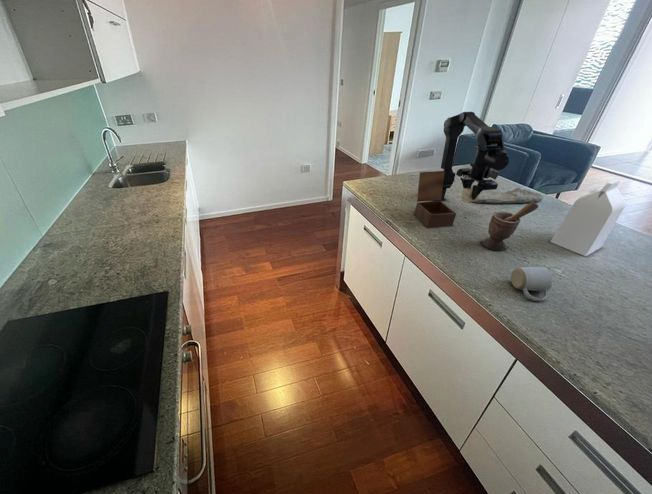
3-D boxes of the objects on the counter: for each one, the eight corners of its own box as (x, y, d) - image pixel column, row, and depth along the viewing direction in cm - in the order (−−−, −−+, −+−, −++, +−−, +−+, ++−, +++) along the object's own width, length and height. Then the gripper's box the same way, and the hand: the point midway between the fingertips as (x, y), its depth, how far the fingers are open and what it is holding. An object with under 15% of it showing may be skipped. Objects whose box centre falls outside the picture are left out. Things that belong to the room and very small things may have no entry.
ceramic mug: (505, 279, 99) (515, 261, 95) (532, 280, 98) (542, 262, 94) (523, 302, 90) (534, 283, 86) (552, 303, 89) (565, 284, 85)
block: (470, 196, 131) (473, 187, 129) (477, 201, 128) (480, 191, 125) (460, 197, 131) (464, 187, 128) (467, 201, 127) (470, 192, 125)
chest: (452, 225, 130) (456, 213, 126) (427, 227, 129) (431, 215, 126) (437, 212, 141) (440, 200, 137) (414, 214, 140) (417, 202, 136)
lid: (444, 170, 132) (443, 170, 133) (420, 172, 131) (419, 172, 132) (441, 200, 137) (440, 199, 137) (417, 201, 136) (416, 201, 137)
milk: (585, 256, 109) (628, 190, 95) (550, 241, 117) (584, 179, 103) (601, 247, 113) (643, 183, 99) (565, 234, 122) (600, 173, 108)
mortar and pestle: (506, 240, 119) (527, 194, 108) (519, 252, 112) (543, 205, 101) (477, 240, 120) (495, 194, 109) (488, 252, 112) (508, 205, 101)
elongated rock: (464, 199, 155) (474, 208, 147) (467, 190, 152) (477, 199, 144) (533, 194, 153) (546, 203, 145) (537, 185, 150) (551, 194, 142)
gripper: (517, 168, 113) (502, 205, 122) (484, 154, 129) (473, 187, 137) (490, 170, 112) (476, 207, 121) (460, 156, 128) (450, 189, 136)
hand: (469, 197), depth 129 cm, fingers closed on block, 4 cm apart
